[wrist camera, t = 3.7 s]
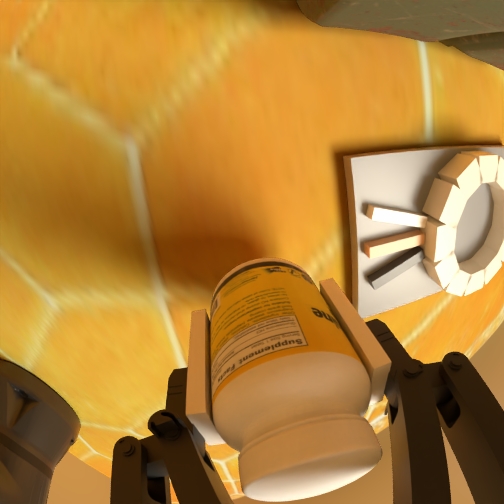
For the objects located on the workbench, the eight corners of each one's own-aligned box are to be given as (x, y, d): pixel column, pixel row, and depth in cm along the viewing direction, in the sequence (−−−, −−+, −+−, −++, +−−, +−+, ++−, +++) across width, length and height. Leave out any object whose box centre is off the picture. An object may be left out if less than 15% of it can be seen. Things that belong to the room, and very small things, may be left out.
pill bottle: (324, 317, 18) (399, 466, 8) (236, 352, 18) (259, 513, 8) (297, 235, 15) (413, 405, 5) (191, 278, 15) (176, 479, 5)
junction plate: (352, 311, 21) (368, 336, 18) (342, 155, 16) (366, 162, 13) (493, 259, 21) (512, 273, 18) (503, 145, 16) (527, 151, 13)
